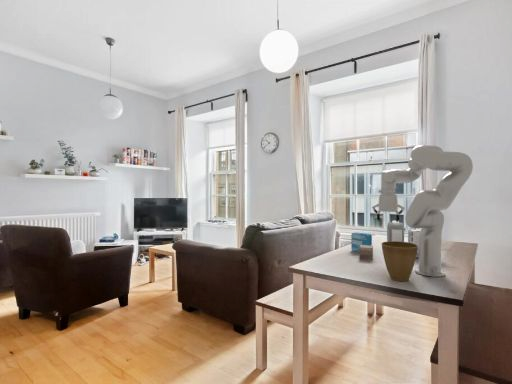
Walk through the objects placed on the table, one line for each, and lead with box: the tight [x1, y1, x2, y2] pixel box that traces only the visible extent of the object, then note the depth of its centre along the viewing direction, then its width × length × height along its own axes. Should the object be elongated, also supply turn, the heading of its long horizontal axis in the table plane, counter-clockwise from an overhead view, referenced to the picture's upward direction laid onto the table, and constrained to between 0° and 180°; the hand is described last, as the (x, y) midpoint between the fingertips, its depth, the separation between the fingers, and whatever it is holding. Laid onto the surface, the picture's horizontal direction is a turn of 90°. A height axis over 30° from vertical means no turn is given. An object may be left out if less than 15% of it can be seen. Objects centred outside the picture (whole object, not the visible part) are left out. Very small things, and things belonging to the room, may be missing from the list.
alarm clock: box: [386, 220, 405, 242], centre depth 192 cm, size 18×8×20 cm, turn 161°
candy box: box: [407, 229, 421, 260], centre depth 176 cm, size 14×6×16 cm, turn 84°
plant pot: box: [381, 241, 418, 282], centre depth 135 cm, size 15×15×16 cm
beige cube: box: [359, 245, 374, 261], centre depth 175 cm, size 7×7×7 cm
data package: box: [350, 231, 373, 253], centre depth 193 cm, size 12×4×12 cm, turn 40°
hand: (387, 221), depth 174 cm, fingers open, 9 cm apart
